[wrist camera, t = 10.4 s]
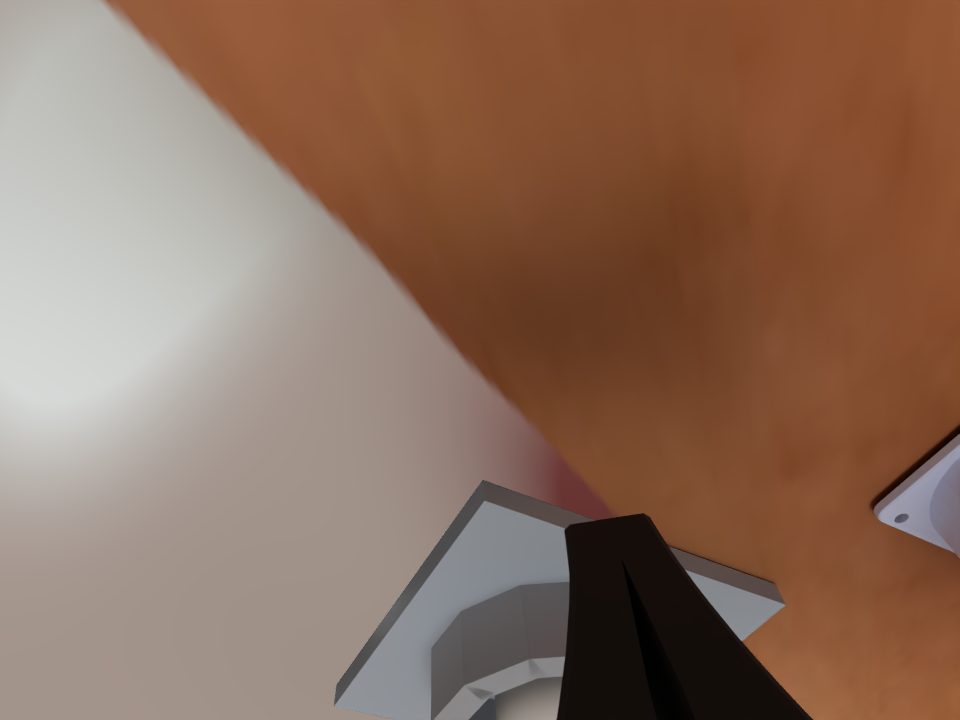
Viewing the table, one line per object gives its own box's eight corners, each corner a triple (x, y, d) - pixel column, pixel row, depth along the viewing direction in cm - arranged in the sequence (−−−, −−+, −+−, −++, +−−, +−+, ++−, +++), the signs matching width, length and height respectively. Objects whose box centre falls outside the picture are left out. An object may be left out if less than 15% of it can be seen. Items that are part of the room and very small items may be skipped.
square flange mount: (774, 583, 27) (823, 675, 23) (590, 742, 33) (607, 832, 30) (482, 479, 22) (490, 573, 19) (336, 684, 29) (323, 781, 25)
